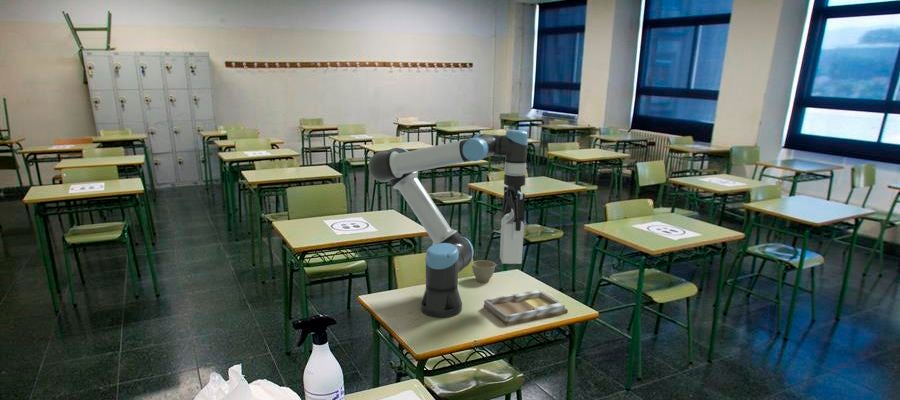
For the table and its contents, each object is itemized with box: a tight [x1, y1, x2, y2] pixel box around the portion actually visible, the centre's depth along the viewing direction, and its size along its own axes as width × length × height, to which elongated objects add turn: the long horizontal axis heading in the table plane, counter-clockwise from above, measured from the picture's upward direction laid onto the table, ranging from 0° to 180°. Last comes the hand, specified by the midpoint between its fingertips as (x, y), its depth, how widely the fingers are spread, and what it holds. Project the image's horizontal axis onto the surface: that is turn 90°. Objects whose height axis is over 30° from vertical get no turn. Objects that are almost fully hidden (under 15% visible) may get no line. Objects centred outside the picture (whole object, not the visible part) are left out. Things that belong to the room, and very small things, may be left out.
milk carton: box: [499, 208, 525, 265], centre depth 189 cm, size 7×7×19 cm
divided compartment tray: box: [483, 289, 569, 326], centre depth 189 cm, size 26×16×3 cm, turn 115°
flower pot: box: [471, 259, 496, 283], centre depth 219 cm, size 10×10×7 cm
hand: (511, 235), depth 189 cm, fingers closed on milk carton, 8 cm apart
